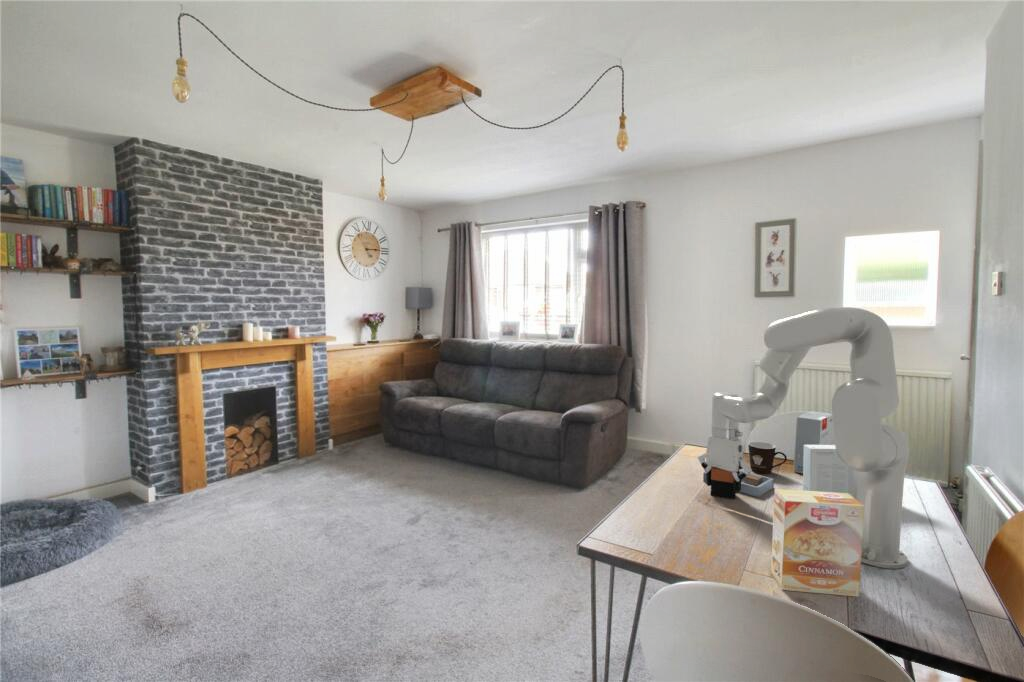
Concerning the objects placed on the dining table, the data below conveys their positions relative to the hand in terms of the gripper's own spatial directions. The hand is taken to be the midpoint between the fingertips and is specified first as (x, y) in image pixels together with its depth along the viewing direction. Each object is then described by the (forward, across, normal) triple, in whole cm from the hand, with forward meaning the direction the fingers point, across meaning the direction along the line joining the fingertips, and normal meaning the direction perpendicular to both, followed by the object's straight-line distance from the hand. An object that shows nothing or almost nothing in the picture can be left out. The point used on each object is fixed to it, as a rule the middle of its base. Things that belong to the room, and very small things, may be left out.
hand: (723, 488), depth 150 cm
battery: (+3, 0, 0) cm, 3 cm away
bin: (+3, +1, -12) cm, 12 cm away
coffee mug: (+3, 0, -30) cm, 30 cm away
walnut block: (+2, -4, -12) cm, 13 cm away
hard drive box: (+3, -10, -47) cm, 48 cm away
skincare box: (+3, -24, -27) cm, 36 cm away
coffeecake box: (+3, -35, +31) cm, 47 cm away
